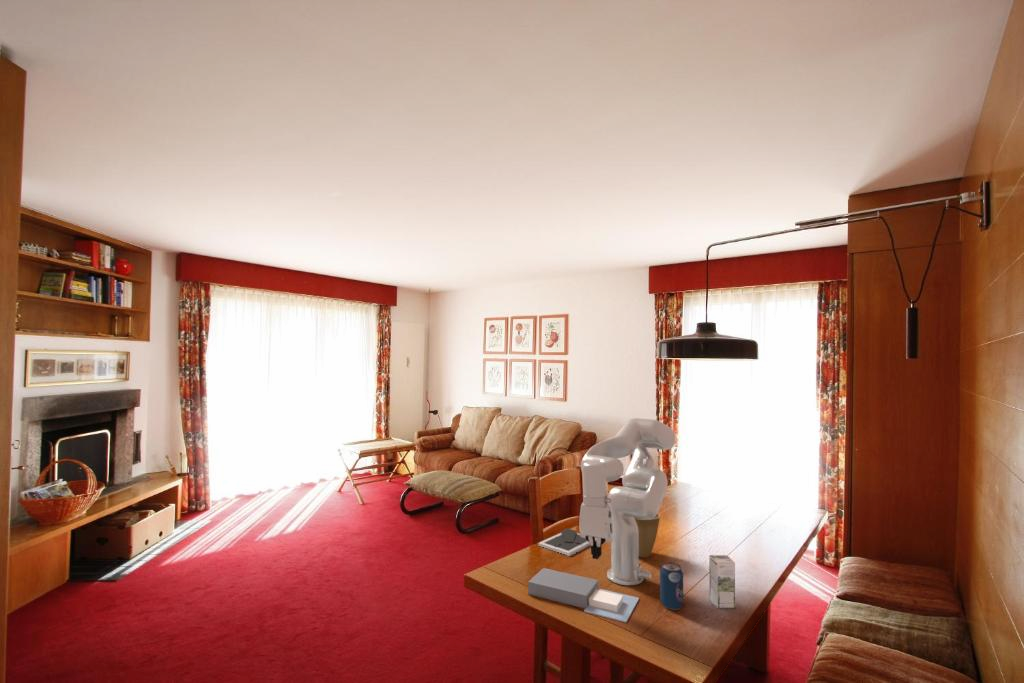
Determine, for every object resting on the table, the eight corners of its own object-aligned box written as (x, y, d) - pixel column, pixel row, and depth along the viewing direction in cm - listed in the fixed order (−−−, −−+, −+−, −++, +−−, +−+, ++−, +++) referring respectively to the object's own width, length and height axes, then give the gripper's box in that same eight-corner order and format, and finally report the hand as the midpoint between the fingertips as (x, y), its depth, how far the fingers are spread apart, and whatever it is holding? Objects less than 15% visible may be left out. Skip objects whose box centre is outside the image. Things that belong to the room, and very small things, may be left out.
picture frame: (567, 534, 213) (538, 547, 197) (567, 528, 213) (538, 541, 198) (597, 543, 202) (569, 558, 187) (597, 536, 202) (569, 551, 187)
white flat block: (623, 602, 150) (623, 595, 150) (617, 612, 144) (617, 605, 144) (595, 595, 154) (595, 589, 155) (588, 605, 148) (588, 598, 148)
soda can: (683, 612, 145) (682, 572, 145) (659, 608, 147) (658, 568, 148) (683, 602, 151) (683, 563, 152) (661, 598, 154) (660, 560, 154)
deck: (598, 592, 157) (598, 580, 158) (586, 608, 147) (586, 595, 147) (543, 579, 167) (543, 567, 167) (528, 594, 156) (528, 581, 156)
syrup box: (726, 599, 153) (725, 553, 153) (736, 609, 147) (735, 561, 147) (709, 600, 152) (708, 554, 153) (718, 609, 146) (717, 561, 147)
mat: (639, 599, 153) (639, 597, 153) (626, 622, 139) (626, 621, 139) (600, 590, 159) (600, 588, 159) (583, 611, 145) (583, 610, 145)
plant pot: (657, 564, 179) (657, 521, 180) (618, 557, 186) (617, 516, 186) (662, 550, 193) (662, 510, 194) (625, 544, 199) (625, 506, 200)
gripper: (620, 499, 153) (622, 557, 153) (577, 494, 160) (578, 548, 160) (614, 506, 146) (616, 566, 146) (568, 500, 153) (570, 557, 153)
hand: (596, 557), depth 153 cm, fingers closed
